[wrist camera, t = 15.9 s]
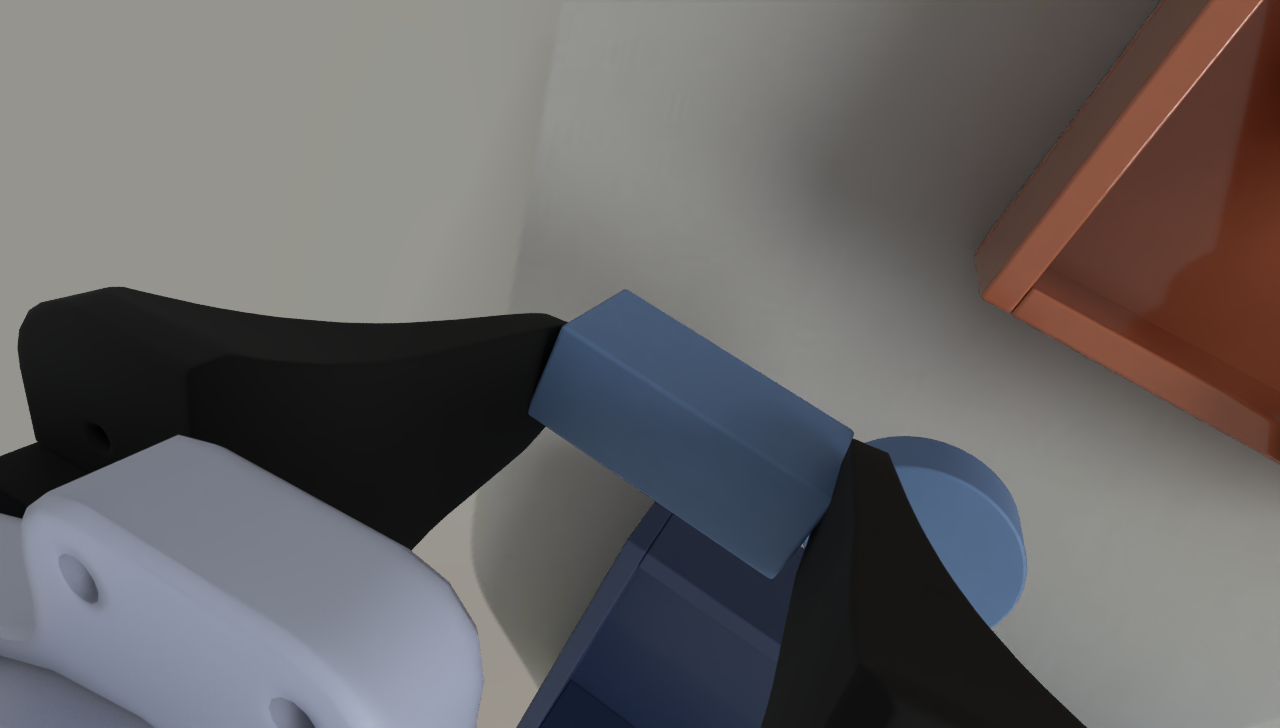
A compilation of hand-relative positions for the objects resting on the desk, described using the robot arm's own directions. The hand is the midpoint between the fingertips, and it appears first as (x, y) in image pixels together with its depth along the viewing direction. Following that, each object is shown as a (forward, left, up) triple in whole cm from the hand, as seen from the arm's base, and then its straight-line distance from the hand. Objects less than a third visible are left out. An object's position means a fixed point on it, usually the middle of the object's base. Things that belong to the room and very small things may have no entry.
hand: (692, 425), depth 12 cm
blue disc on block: (+2, 0, -1) cm, 2 cm away
